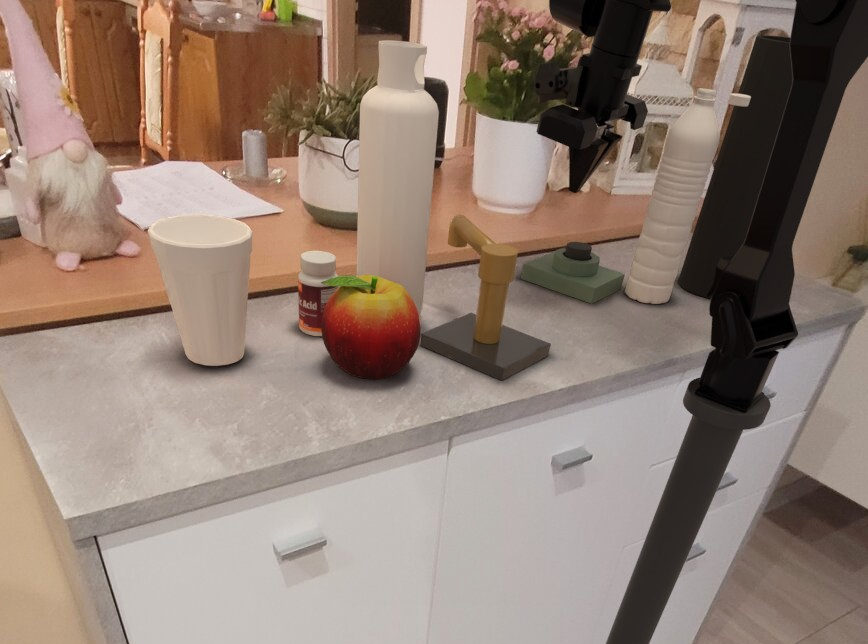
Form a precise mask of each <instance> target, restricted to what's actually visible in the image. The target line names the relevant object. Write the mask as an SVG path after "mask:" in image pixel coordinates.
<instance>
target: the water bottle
mask: <svg viewBox="0 0 868 644" xmlns="http://www.w3.org/2000/svg"><path fill="white" fill-rule="evenodd" d="M695 94H696V95H694V96H693V98H694V99H693V102H691V104H689V106H688V107H687V108H686V109H685V111H684V112H682V114H681V115H680V116H679V117H678V118H677V119H676V120H675V121H674V123H673V124H672V125H671V127H670V128H669V130H668V132H667V135H666V138H665V143H664V146H663V153H662V155H661V158H660V159H661V160H660V162H659V168H658V169H657V175H656V176H655V182H654V184H653V189H652V191H651V195H650V198H649V201H648V204H647V208H646V215H645V216H644V220H643V223H642V227H641V232H640V233H639V238H638V241H637V247H636V249H635V252H634V259H633V261H632V263H631V267H630V270H629V275H628V277H627V281H626V285H625V288H624V293H625V295H626V296H628V298H630V299H632V300H634V301H636V300H637V301H638V302H639V303H643V304H651V305H660V304H665V303H668V302H669V300H670V299H671V297H672V296H671V295H672V293H673V289H674V285H675V281H676V279H677V277H678V273H679V267H680V265H681V264H682V261H683V258H684V253H685V250H686V247H687V244H688V239H689V238H690V235H691V232H692V229H693V223H694V221H695V219H696V217H697V213H698V211H699V206H700V202H701V200H702V196H703V194H704V189H705V188H706V182H707V181H708V178H709V177H708V175H709V174H710V172H711V167H712V166H713V161H714V159H715V156H716V153H717V150H718V147H719V144H720V139H721V132H720V127H719V122H718V118H717V114H716V109H715V102H716V101H717V99H716V97H717V96H716V95H717V90H715V89H711V88H705V87H700V88H699V87H698V88H697V91H696V93H695ZM750 99H751V96H748V95H744V94H738V92H737V93H736V92H733V93H732V92H731V93H730V94H729V96H728V99H727V104H728V105H732V106H734V105H736V106H748V105H749V102H750Z"/></svg>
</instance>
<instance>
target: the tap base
mask: <svg viewBox="0 0 868 644" xmlns="http://www.w3.org/2000/svg"><path fill="white" fill-rule="evenodd" d="M509 286H510V283H507V284H493V283H489V282H486V281H483V280H481V279H480V284H479V291H478V297H477V306H476V313H473V312H469V313H467V314H463V315H462V316H460V317H457V318H455V319H453V320H450V321H448V322H446V323H442V324H440V325H438V326H436V327H434V328H431V329H428V330H427V331H424V332H421V333H420V343H419V345H420V346H421V347H423V348H425V349H428V350H429V351H433V352H435V353H436V354H439V355H442V356H444V357H446V358H449V359H451V360H453V361H455V362H457V363H460V364H462V365H465V366H467V367H469V368H472V369H474V370H476V371H478V372H481V373H483V374H486V375H488V376H490V377H493V378H495V379H497V380H499V381H505V380H507V379H508V378H509V377H512V376H513V375H515V374H517V373H519V372H521V371H523V370H524V369H526V368H528V367H530V366H532V365H533V364H535V363H537V362H539V361H541V360H543V359H545V358H546V357H549V355H550V350H551V344H552V343H550V342H548V341H545V340H542V339H540V338H537V337H535V336H532V335H530V334H527V333H525V332H522V331H519V330H516V329H514V328H512V327H509V326H506V325H503V324H504V317H505V311H506V305H507V299H508V293H509V288H510V287H509Z"/></svg>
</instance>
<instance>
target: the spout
mask: <svg viewBox="0 0 868 644" xmlns="http://www.w3.org/2000/svg"><path fill="white" fill-rule="evenodd" d="M447 245H448V246H450V247H453V248H465V247H467V246H468V245H469V246H470V247H471V248H472V249H473V250H474V251H475V252H476V253H477V254H478V255H479V266H478V272H477V277H478V278H479V279H480V281H481V280H483V281H486V282H489V283H493V284H507V283H509V284H511V283H512V282H513V281H514V280H515V279H514V278H515V273H516V266H517V259H518V254H519V251H518V249H517V248H515V247H513V246H511V245H508V244H502V243H496V242H495V241H494V240H492V238H490V237H489V236H488V235H487V234H486V233H484V231H482V230H481V229H480V228H479V227H478V226H477V225H476V224H474V223H473V222H472V221H471V220H469V218H467V217H466V216H465V215H464V214H456V215H455V216H453V218H452V219H451V221H450V222H449V228H448V238H447Z"/></svg>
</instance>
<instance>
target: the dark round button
mask: <svg viewBox="0 0 868 644" xmlns="http://www.w3.org/2000/svg"><path fill="white" fill-rule="evenodd" d="M565 248H566V251H565V255H564V256H565V257H567V258H569V259H573V260H579V261H588V260H589V259H590V254H591V252H592V250H593V249H592V248H593V247H592V245H590V244H588V243H586V242H580V241H570V242H567V243H566V246H565Z"/></svg>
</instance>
